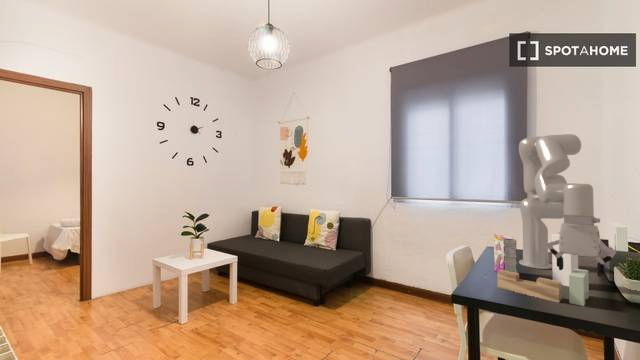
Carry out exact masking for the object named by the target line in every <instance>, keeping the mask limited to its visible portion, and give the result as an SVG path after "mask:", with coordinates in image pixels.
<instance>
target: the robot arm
mask: <svg viewBox="0 0 640 360" xmlns="http://www.w3.org/2000/svg"><path fill="white" fill-rule="evenodd" d="M581 149H582V141H581V139H580V137H579V136H578V135H576V134H571V133H569V134H551V135H550V134H549V135H543V136H533V137H532V136H530V137H525V138H523V139H522V140H520V142H519V143H518V154H519V157H520V160H521V162H522V166H523V167H522V168H523V188H524V189H523V190H524V192H525V193H526V194H527V195H530V196H533V195H534V196H537V197H527V198H524V199H522V200H521V202H520V204H519V209H520V213H521V218H522V219H521V221H522V259H519V261H518V262H519V264H520V265H521V266H524V267H527V268H532V269H538V270H540V269H541V270H549V269H550V270H551V269H552V263H550V262H549V252H550V253H551V255H552V254H553V255H555V257H556V258H557V267H559V270H562V269H563V258H562V255H563V254H564V253H566V254H572V255H578V256H581V257H582V256H583V257H588V258H589V257H591V258H594V259H595V260H596V261H597V267H596V268H597V270H596V271H597V277H600V278H601V277H602V275H605V264H606V263H608V262H609V261H611V260H612V259H613V258H614V257H615V255H616V254H617V251H616V250H614V249H612V248H610V247H609V246H606V245H604V244H602V243H601V238H600V237H601V236H600V230H599V227H598V225H595V224H597V223H601V218H597V217H595V212H594V209H595V207H594V187H593V186H592V184H589V183H574V182H573V183H571V182H570V183H567V179H566V178H565V176H563V175H561V173H563V172H565V171H567V170H568V169H569V167H570V165H571V161H570V159H569V157H568V156H572V155H573V156H575V155H578V154H579V153H580V151H581ZM542 219H549V220H551V219H552V220H553V219H554V220H555V219H556V220H561V219H563V223H561V225H560V230H559V232H560V237H559V240H557V241H553V242H552V241H550V242H549V230H548V226H547V224H546V223H544V221H542ZM557 244H559V250H560V252H559V253H558V252H557V251H556V250H555V249H554V248H553V246H554V245H557ZM602 251H604V252H606V253H608V254H607V255H605V257H603V256H601V252H602Z"/></svg>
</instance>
